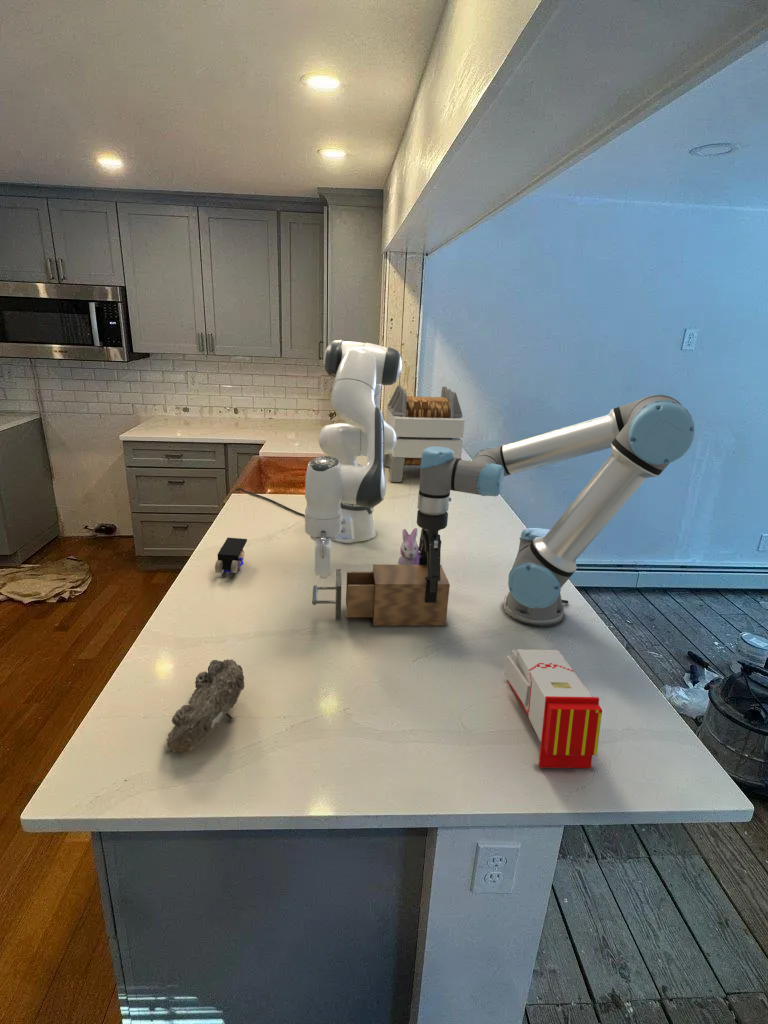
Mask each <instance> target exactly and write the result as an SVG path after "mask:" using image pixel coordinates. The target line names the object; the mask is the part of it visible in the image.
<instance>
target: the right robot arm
mask: <svg viewBox="0 0 768 1024" xmlns="http://www.w3.org/2000/svg"><path fill="white" fill-rule="evenodd" d="M695 432H696V431H695V422H694V419H693V417H692V415H691V413H690V411H689V410H688V409H687V408H686V407H684V405H682V403H681V402H679V401H678V400H677V399H676V398H674V397H672V396H669V395H664V394H652V395H648V396H645V397H642V398H640V399H638V400H634V401H632V402H630V403H626V404H623V405H620V406H617V407H614V408H611V410H610V411H609V413H608V414H606V415H603V416H598V417H595V418H591V419H589V420H586V421H582V422H578V423H575V424H572V425H568V426H564V427H561V428H558V429H554V430H551V431H548V432H547V431H546V432H544V433H540V434H538V435H533V436H531V437H527V438H524V439H523V438H522V439H521V440H517V441H513V442H510V443H506V444H503V445H499V446H496V447H491V446H489V447H485V448H483V449H481V450H479V451H478V452H477V453H476V454H475V456H474V457H473V459H472V460H467V459H466V460H465V459H462V460H460V459H455V458H454V456H453V451H452V450H451V449H449V448H445V447H428V448H426V449H424V450H423V452H422V459H421V466H419V484H418V485H419V486H418V487H419V488H418V494H417V495H418V496H417V512H416V514H417V515H416V525H417V526H418V527H419V528H421V530H420V536H419V543H418V547H419V548H418V550H419V555H420V556H421V557H419V565H427V566H428V577H425V580H426V592H425V603H436V597H437V586H438V581H440V579H441V578H440V565H441V551H442V550H441V549H442V539H441V534H439V532H440V531H441V530H444V529H446V528H447V527H448V521H449V520H448V519H449V512H448V511H449V506H450V504H449V503H451V502H452V498H451V497H450V496H451V491H453V492H460V493H465V494H472V495H479V496H481V497H498V496H499V495H500V494H501V492H502V489H503V484H504V479H505V477H507V476H510V475H513V474H518V473H521V472H524V471H529V470H533V469H536V468H540V467H543V466H548V465H551V464H552V465H553V464H555V463H558V462H562V461H563V462H564V461H566V460H570V459H573V458H577V457H582V456H585V455H589V454H592V453H597V452H600V451H604V450H608V449H611V454H610V455H609V456H608V457H607V459H606V460H605V461H604V462H603V464H602V465H601V466H600V468H599V469H598V470H597V471H596V473H595V474H594V475H593V476H592V478H591V479H590V480H589V481H588V482H587V484H586V485H585V486H584V487H583V488H582V490H581V491H580V492H579V494H577V496H576V497H575V499H574V500H573V501H572V502H571V504H570V505H569V506H568V507H567V509H566V510H565V511H564V512H563V513H562V515H561V516H560V517H559V519H557V521H556V522H555V523H554V524H553V526H552V527H551V528H550V529H548V528H541V527H529V528H524V529H522V531H521V533H520V537H519V546H518V550H517V553H516V557H515V559H514V562H513V565H512V567H511V569H510V571H509V574H508V578H507V580H508V582H507V584H508V585H507V586H508V590H509V591H508V593H507V595H505V596H504V598H503V600H504V604H503V605H504V606H503V609H504V612H505V613H506V614H507V615H508V616H509V617H510V618H512V619H513V620H515V621H517V622H519V623H522V624H526V625H529V626H537V627H550V626H554V625H556V624H558V623H559V624H560V623H561V621H562V620H563V618H564V604H565V605H566V604H567V605H568V604H569V600H567V599H562V593H561V591H562V587H564V585H565V584H566V583H567V582H568V580H569V579H570V578H571V577H572V576H573V575H574V573H575V572H576V571H577V567H578V566H577V561H576V560H577V559H579V557H580V556H581V555H582V554H583V552H584V551H585V550H586V549H587V548H588V547H589V545H590V544H591V543H592V542H593V541H594V540H595V539H596V538H597V536H598V535H599V534H600V533H601V532H602V530H603V529H604V528H605V527H606V526H607V525H608V523H610V521H611V520H612V519H613V517H614V516H615V515H616V514H617V513H618V512H619V510H621V509H622V508H623V506H624V505H625V504H626V502H627V501H628V500H630V498H631V496H633V494H635V492H636V491H637V490H638V488H640V486H641V485H643V483H644V481H646V479H648V478H655V477H657V478H658V477H660V475H661V474H662V473H663V471H664V470H665V469H666V468H667V467H668V466H669V465H670V464H672V463H673V462H676V461H677V460H679V459H681V458H682V457H683V456H685V455H686V453H687V452H688V451H689V450H690V448H691V446H692V444H693V442H694V439H695V438H694V437H695Z"/></svg>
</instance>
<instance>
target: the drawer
mask: <svg viewBox="0 0 768 1024" xmlns="http://www.w3.org/2000/svg"><path fill="white" fill-rule="evenodd" d="M345 586H346V588H345V610H346V618H372V617H374V599H375V582H374V575H373V572H372V571H346V585H345ZM318 590H323V591H326V590H327V591H328V590H329V591H335V599H334V600H318ZM311 595H312V596H311V597H312V598H311V604H312V605H313V606H316V605H320V604H321V605H322V604H325V605H327V604H329V605H333V604H334V605H335V606H334V608H335V622H340V621H341V619H342V617H341V616H342V614H341V613H342V569H341V568H336V569H335V586H317V585H316V584H314V585H313V586H312V594H311Z"/></svg>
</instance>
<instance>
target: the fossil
mask: <svg viewBox="0 0 768 1024" xmlns="http://www.w3.org/2000/svg"><path fill="white" fill-rule="evenodd" d="M243 670H244V669H243V667H242V665H240V664H237V662H236V661H235V660H234V659H232V658H231V659H227V658H226V659H224V660H223V661H222V660H217V659H212V660H211V661H210V663H209V665H208V666H207V671H201V672H199V673H198V674H197V675H196V676H195V680H194V684H195V685H194V687H195V689H194V690H193V693H192V694H191V697H190V698H189V700H188V704H184V705H182V706H181V707H180V709H177V710H176V711H175V713H174V715H173V716H172V718H171V723H172V724H173V727H172V730H171V731H170V732H168V734H167V738H166V741H167V742H166V745H167V749H168V750H169V751H173V752H174V753H176V754H178V753H182V752H188V751H189V752H192V751H193V750H195V748H196V747H197V746H199V744H200V743H201V742H203V741H204V740H205V739H206V738H207V737H208V736H209V735H210V734H211V733H212V732H214V730H215V729H217V727H218V726H219V724H220V722H221V721H222V720H223V719H224V718H225V716H226V717H227V719H229V720H233V717H232V715H230V714H229V710H230V709H231V708H234V706H235V704H236V703H237V702H238V699H239V697H240V695H241V693H242V691H243V690H245V689H244V688H245V675H244V671H243Z"/></svg>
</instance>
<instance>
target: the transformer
mask: <svg viewBox="0 0 768 1024" xmlns="http://www.w3.org/2000/svg"><path fill="white" fill-rule="evenodd" d="M440 393H441V394H440V396H415V395H414V396H413V395H412V396H411V395H407V394H408V393H407V390H406V389H404V388H403V387H402V385H399V384H398V385H397V386H396V388H395V390H394V392H393V394H392V395H391V398H390V400H389V402H388V404H387V405H386V413H385V414H386V415H385V422H386V423H387V424H389V425H390V426H391V427H392V428H393V429H394V431H395V433H396V436H397V443H396V446H395V448H394V450H393V451H392V452H391V453H390V454H386V455H384V467H388V468H389V475H388V476H389V477H388V478H389V480H390V482H391V483H402V482H403V475H404V469H405V466H406V467H407V466H411V467H412V466H413V467H415V466H416V467H417V466H418V467H420V466H421V459H422V452H423V450H424V449H426V448H428V447H445V448H449V449H451V450H452V451H453V456H454V458H455V459H460V460H463V459H462V453H463V442H464V441H463V440H462V439H463V438H464V431H465V430H464V429H465V419H464V418H463V411H462V408H461V405H460V402H459V398H458V395H457V392H455V391H453V390H452V389H451V388H447V386H442V387H441V392H440Z"/></svg>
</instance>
